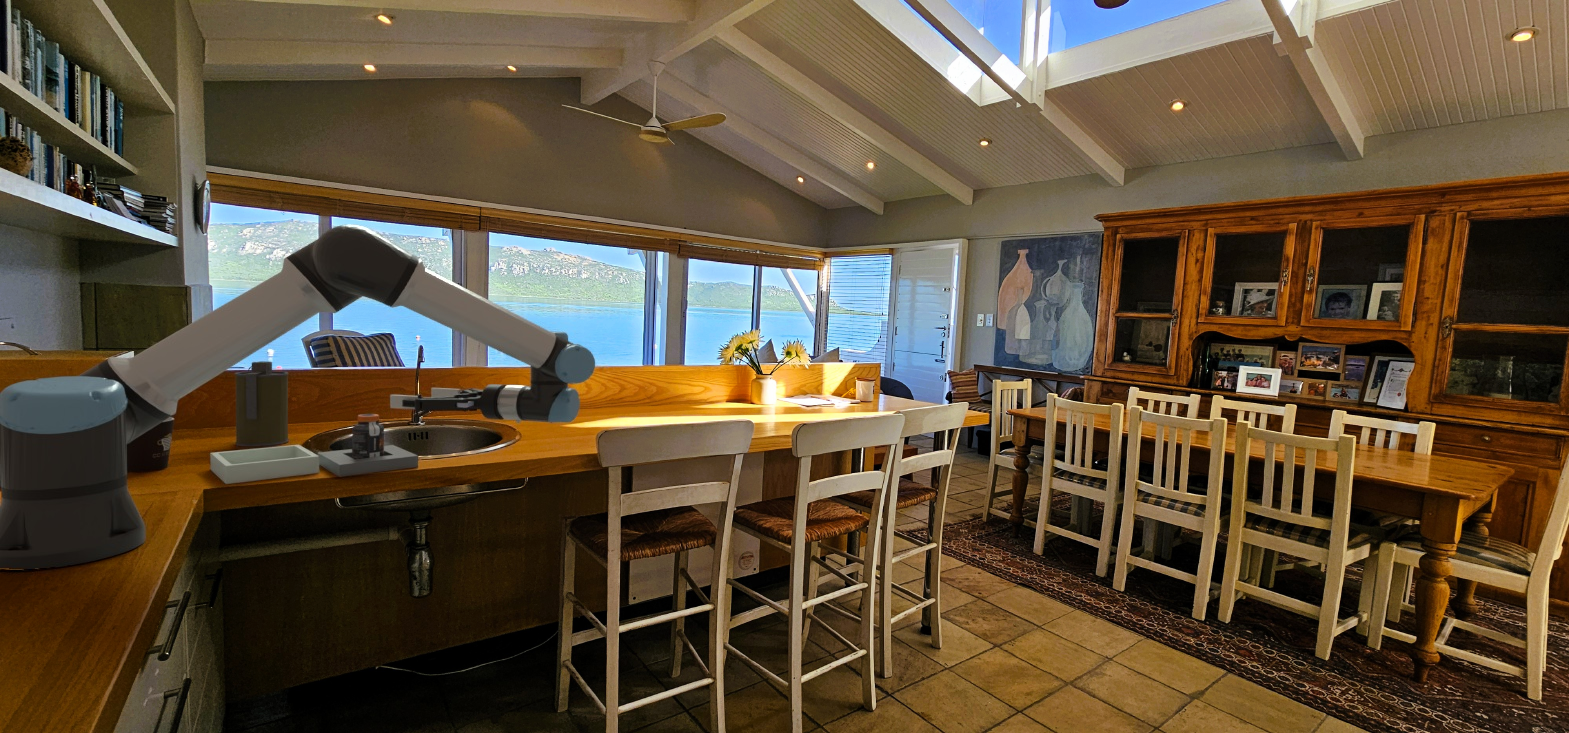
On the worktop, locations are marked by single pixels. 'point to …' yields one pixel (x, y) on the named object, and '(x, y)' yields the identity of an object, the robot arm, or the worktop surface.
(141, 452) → the coffee mug
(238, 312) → the robot arm
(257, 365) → the canister
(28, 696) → the worktop surface
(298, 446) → the parts tray
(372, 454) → the pill bottle
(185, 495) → the worktop surface
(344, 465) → the socket block
